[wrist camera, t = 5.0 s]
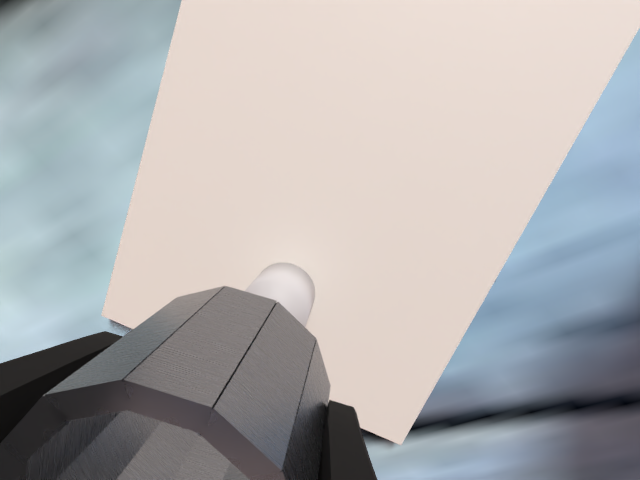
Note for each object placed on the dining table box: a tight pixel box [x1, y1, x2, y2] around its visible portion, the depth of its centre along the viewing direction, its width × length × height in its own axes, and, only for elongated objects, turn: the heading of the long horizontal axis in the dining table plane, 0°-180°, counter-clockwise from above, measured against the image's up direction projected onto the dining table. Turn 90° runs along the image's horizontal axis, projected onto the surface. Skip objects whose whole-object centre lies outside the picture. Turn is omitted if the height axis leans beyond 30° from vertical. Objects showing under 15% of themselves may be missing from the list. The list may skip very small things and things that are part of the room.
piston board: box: [101, 0, 640, 445], centre depth 14 cm, size 16×24×3 cm, turn 158°
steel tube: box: [0, 286, 331, 480], centre depth 8 cm, size 5×5×4 cm
